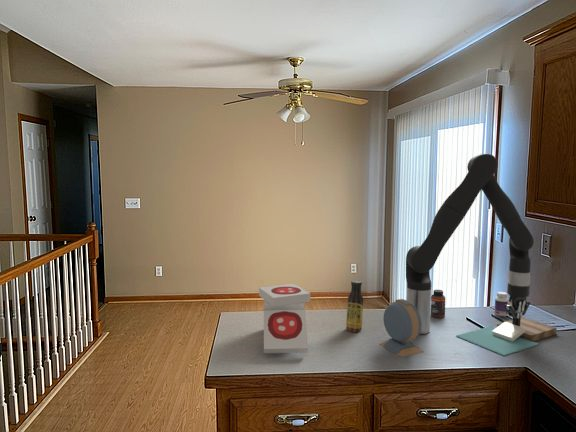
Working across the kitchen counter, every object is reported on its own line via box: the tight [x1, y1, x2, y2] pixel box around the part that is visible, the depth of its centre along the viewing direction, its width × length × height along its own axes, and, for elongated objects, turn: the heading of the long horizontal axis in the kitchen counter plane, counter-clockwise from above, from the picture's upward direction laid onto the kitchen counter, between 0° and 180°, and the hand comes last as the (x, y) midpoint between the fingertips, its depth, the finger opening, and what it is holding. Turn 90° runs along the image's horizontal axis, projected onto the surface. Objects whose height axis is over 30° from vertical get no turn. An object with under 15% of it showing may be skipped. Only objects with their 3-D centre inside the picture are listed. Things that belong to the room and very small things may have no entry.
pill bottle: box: [493, 291, 509, 317], centre depth 191 cm, size 5×5×10 cm
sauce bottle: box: [345, 279, 364, 333], centre depth 172 cm, size 7×6×20 cm
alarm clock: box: [379, 298, 425, 358], centre depth 155 cm, size 14×10×18 cm
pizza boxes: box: [258, 283, 311, 354], centre depth 160 cm, size 19×30×18 cm, turn 3°
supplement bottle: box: [430, 289, 446, 319], centre depth 189 cm, size 6×6×11 cm
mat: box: [455, 325, 540, 357], centre depth 162 cm, size 20×20×1 cm
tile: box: [492, 321, 525, 341], centre depth 165 cm, size 8×8×2 cm
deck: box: [496, 316, 557, 342], centre depth 171 cm, size 16×14×2 cm
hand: (516, 326), depth 168 cm, fingers closed
